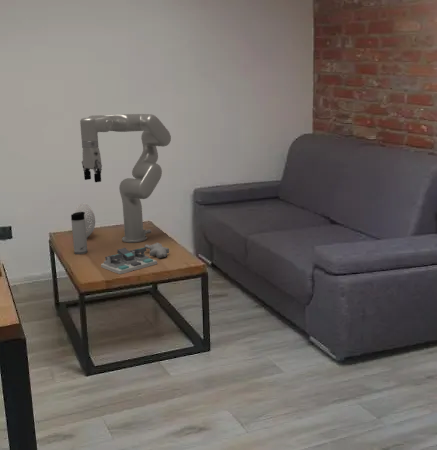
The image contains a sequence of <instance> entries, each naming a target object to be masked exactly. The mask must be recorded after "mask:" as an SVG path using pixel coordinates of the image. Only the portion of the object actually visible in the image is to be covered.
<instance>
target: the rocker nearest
mask: <svg viewBox="0 0 437 450" xmlns="http://www.w3.org/2000/svg"><path fill="white" fill-rule="evenodd" d="M129 251H130V252H132V251H135V254H136V253H140V254H141V253H142V252H144V253H145V252H147V251H148V250H147V248H144V247H141V248H135V249H132V250H129Z"/></svg>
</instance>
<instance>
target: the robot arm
mask: <svg viewBox="0 0 437 450" xmlns="http://www.w3.org/2000/svg"><path fill="white" fill-rule="evenodd" d="M79 124H80V136H81V148H82V161H81V165H82V168H83V169H82V171H83V178H84V181H87V180H91V179H92V174H91V170H93V172H94V174H93V175H94V176H93V177H94V183H100V182H102V170H103V169H102V167H103V165H102V164H103V163H102V158H101V152H100V147H99V137H98V135H99V134H98V133H108V132H117V133H118V132H119V133H120V132H121V133H125V132H126V133H127V132H142V134H141V136H140V137H141V145H142V153H141V155H140V157H139V158H138V160H137V162H136V163H135V165H133V168H132V170H131V174H132V177H131V178H130V177H128V178H124V179H122V180H121V181H120V182H119V183H120V184H119V193H120V197H121V203H122V217H123V230H124V236H123V237H122V238H121V240H122V242H124V243H140V242H144V241H146V240H147V239H148V237H147V234H151V233H152V229H146V228H145V229H144V220H143V206H142V201H141V200H145V199H148V198H149V197H150V196H151V195H152V194H153V192H154V190H155V189H156V187H157V186H158V184H159V183H160V181H161V178H162V172H163V170H162V167H161V165H160V164H158V163H157V162H158V160H159V152H158V148H157V147H167V146H168V145H170V143H171V140H172V135H171V133H170V131H169V130H168V129H167V127H166V126H165V124H164V123H163V122H162V121H161V120H160V119H159V118H158V116H156V115H154V114H152V113H151V114H149V113H130V114H129V113H126V114H125V113H124V114H123V113H122V114H110V115H109V114H108V115H107V114H105V115H90V116H88V117H83V118H81V119H80V120H79Z"/></svg>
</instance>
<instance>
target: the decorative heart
mask: <svg viewBox="0 0 437 450" xmlns="http://www.w3.org/2000/svg"><path fill="white" fill-rule="evenodd" d="M77 212H85V214H84V218H85V228H86V240H88V237H89V236H91V235H92V234H93V232H94V230H95V227H96V216H95V213H94V211H93V209H92V208H91V206H89V204H87V203H84V202H82V203H80V204H78V205H77V207H76V208H75V210H74V213H77Z"/></svg>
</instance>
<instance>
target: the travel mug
mask: <svg viewBox="0 0 437 450" xmlns="http://www.w3.org/2000/svg"><path fill="white" fill-rule="evenodd" d="M84 214H85V211H84V212H77V213H75V212H73V213H72V214H71V215H70V218H71V219H70V222H71V231H72V239H73V240H72V242H73V251H74V254H75V255H85V254H87V253H88V241H87V240H88V239H87V238H86V232H87V231H86V228H85V218H84Z"/></svg>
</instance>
